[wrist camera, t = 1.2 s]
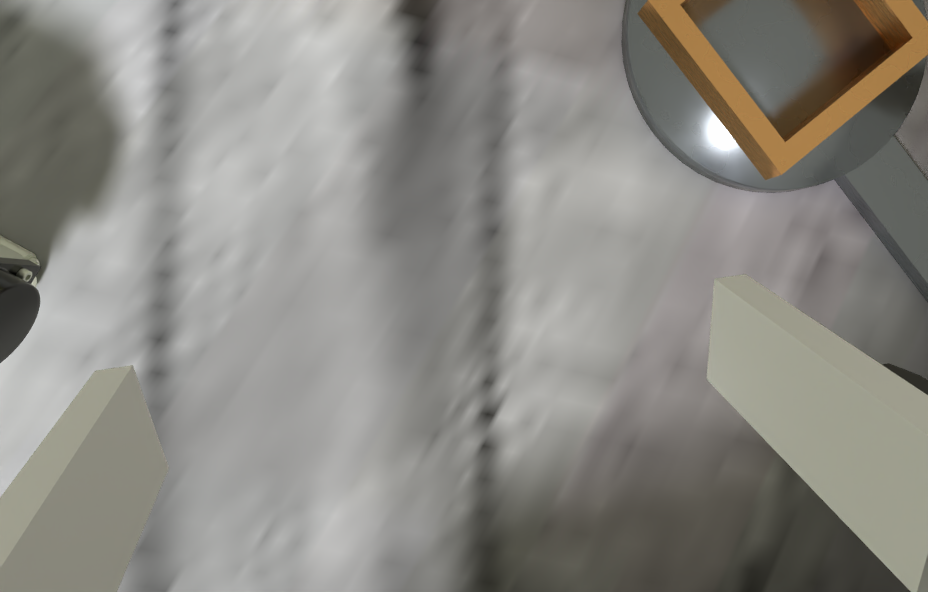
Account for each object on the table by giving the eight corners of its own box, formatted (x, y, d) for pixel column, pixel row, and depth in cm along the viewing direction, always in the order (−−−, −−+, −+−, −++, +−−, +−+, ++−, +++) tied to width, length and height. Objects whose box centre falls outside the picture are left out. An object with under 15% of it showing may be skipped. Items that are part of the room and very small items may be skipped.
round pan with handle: (560, 13, 35) (572, -11, 32) (790, -168, 36) (821, -207, 33) (930, 490, 37) (972, 506, 34) (1142, 305, 38) (1200, 306, 35)
